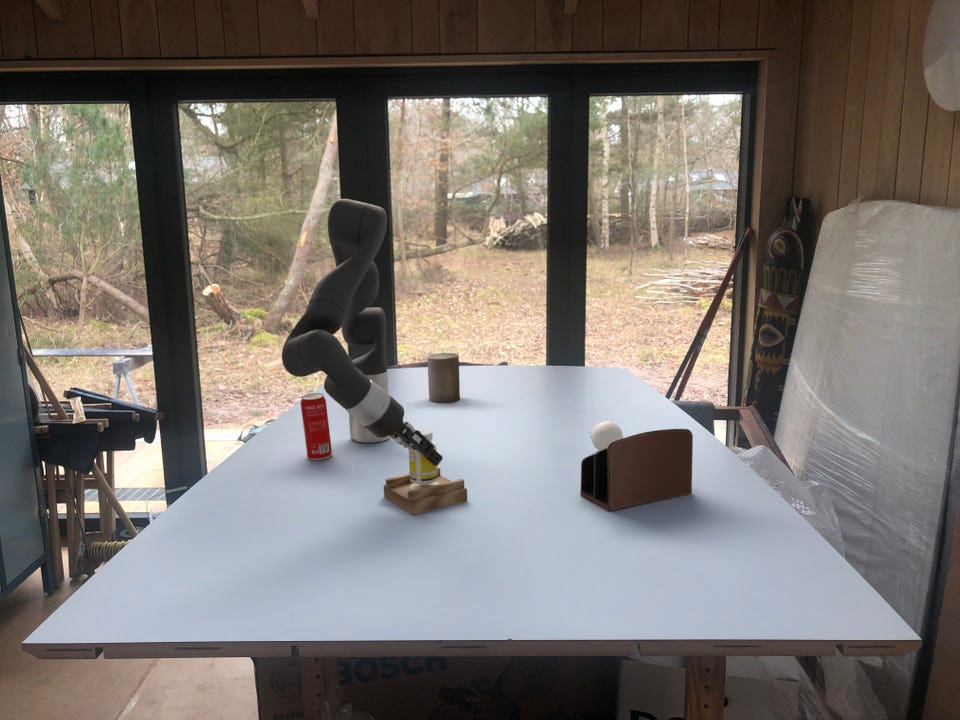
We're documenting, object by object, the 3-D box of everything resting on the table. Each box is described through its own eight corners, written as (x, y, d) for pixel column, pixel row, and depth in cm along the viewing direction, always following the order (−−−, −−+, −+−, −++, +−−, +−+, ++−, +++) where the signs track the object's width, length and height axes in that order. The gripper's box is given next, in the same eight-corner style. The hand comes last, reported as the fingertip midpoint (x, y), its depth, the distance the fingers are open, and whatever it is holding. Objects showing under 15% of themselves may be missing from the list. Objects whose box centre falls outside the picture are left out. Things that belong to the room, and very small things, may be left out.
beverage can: (336, 454, 180) (333, 392, 177) (320, 462, 174) (316, 399, 171) (316, 452, 182) (312, 391, 180) (299, 459, 177) (294, 397, 174)
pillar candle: (466, 397, 234) (465, 349, 232) (448, 404, 226) (446, 355, 224) (440, 394, 240) (439, 347, 237) (422, 401, 231) (420, 352, 229)
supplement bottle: (441, 477, 151) (440, 429, 149) (430, 486, 146) (429, 437, 144) (416, 474, 152) (415, 427, 151) (405, 483, 147) (403, 434, 146)
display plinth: (413, 515, 142) (412, 495, 141) (384, 496, 151) (383, 477, 151) (467, 501, 148) (466, 481, 147) (435, 484, 158) (435, 465, 157)
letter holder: (692, 494, 149) (694, 425, 147) (609, 513, 141) (609, 440, 138) (660, 479, 158) (661, 414, 156) (579, 496, 150) (579, 427, 147)
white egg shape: (629, 451, 177) (629, 420, 176) (611, 459, 172) (611, 427, 170) (593, 443, 184) (593, 414, 183) (575, 450, 179) (575, 420, 177)
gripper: (404, 399, 136) (462, 451, 144) (368, 385, 147) (424, 434, 156) (378, 432, 134) (439, 483, 143) (345, 416, 145) (402, 464, 154)
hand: (431, 457), depth 149 cm, fingers closed on supplement bottle, 5 cm apart
